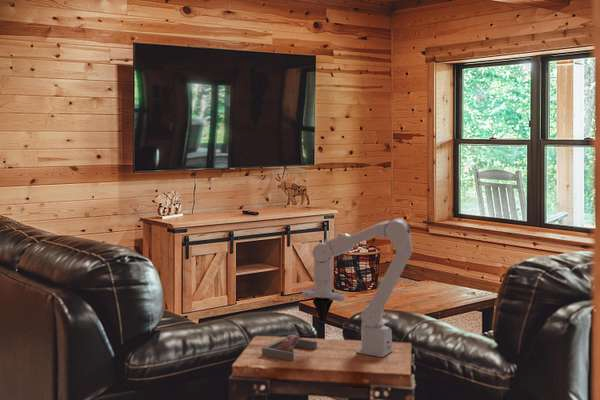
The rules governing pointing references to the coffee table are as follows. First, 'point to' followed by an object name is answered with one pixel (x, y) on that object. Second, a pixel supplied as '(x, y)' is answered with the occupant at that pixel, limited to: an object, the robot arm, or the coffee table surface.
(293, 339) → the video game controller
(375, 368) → the coffee table surface
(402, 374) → the coffee table surface
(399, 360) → the coffee table surface
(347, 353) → the coffee table surface
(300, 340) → the controller dock
